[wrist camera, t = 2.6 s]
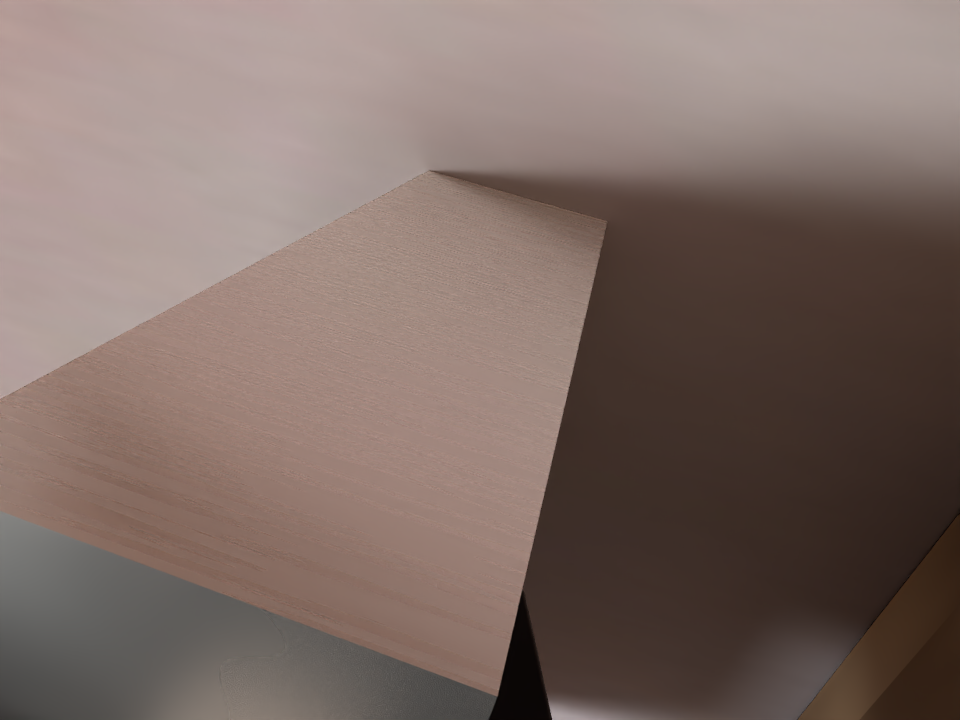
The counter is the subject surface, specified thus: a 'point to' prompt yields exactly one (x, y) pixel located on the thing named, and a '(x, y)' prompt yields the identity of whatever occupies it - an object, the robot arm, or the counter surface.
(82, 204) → the counter surface
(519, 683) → the robot arm
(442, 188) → the aluminium panel
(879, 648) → the walnut rack
